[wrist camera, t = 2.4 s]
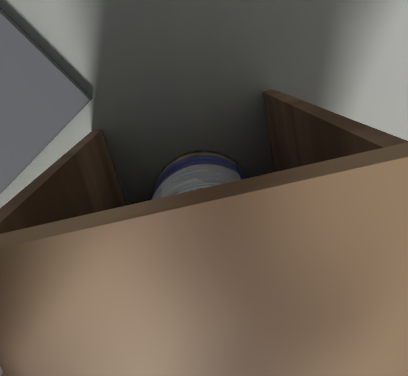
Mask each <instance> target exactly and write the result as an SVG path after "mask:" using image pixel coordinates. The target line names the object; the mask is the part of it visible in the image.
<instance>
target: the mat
mask: <svg viewBox="0 0 408 376" xmlns="http://www.w3.org/2000/svg"><path fill="white" fill-rule="evenodd" d="M91 99H92V98H91V97H90V96H89V95H88V94H87V93H86V92H85V91H84V90H83V89H82V88H81V87H80V86H79V85H78V84H77V83H76V82H75V81H74V80H73V79H72V78H71V77H70V76H69V75H68V74H67V73H66V72H65V71H64V70H63V69H62V68H61V67H60V66H59V65H58V64H57V63H56V62H55V61H54V60H52V59H51V58H50V57H49V56H48V55H47V54H46V53H45V52H44V51H43V50H42V49H41V48H40V47H39V46H38V45H37V44H36V43H35V42H34V41H33V40H32V39H31V38H30V37H29V36H28V35H27V34H26V33H25V32H24V31H23V30H22V29H21V28H20V27H19V26H18V25H17V24H16V23H15V22H14V21H13V20H12V19H11V18H10V17H8V16H7V15H6V14H5V13H4V12H3V11H2V10H1V9H0V194H1V193H2V192H3V191H4V190H5V189H6V188H7V186H8V185H9V184H10V183H11V182H12V181H13V180H14V179H15V178H16V177H17V176H18V175H19V174H20V173H21V172H22V171H23V170H24V169H25V168H26V167H27V166H28V165H29V164H30V163H31V162H32V161H33V160H34V158H35V157H36V156H37V155H38V154H39V153H40V152H41V151H42V150H43V149H44V148H45V147H46V146H47V145H48V144H49V143H50V142H51V141H52V140H53V139H54V138H55V137H56V136H57V135H58V134H59V133H60V131H61V130H62V129H63V128H64V127H65V126H66V125H67V124H68V123H69V122H70V121H71V120H72V119H73V118H74V117H75V116H76V115H77V114H78V113H79V112H80V111H81V110H82V109H83V108H84V107H85V106H86V105H87V103H88V102H89V101H90V100H91Z"/></svg>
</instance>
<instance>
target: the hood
mask: <svg viewBox="0 0 408 376" xmlns="http://www.w3.org/2000/svg"><path fill="white" fill-rule="evenodd" d="M263 95H264V102H265V108H266V115H267V122H268V129H269V135H270V142H271V149H272V156H273V163H274V169H275V172H273V173H269V174H264V175H260V176H256V177H251V178H247V179H242V180H238V181H233V182H229V183H224V184H220V185H216V186H211V187H207V188H202V189H198V190H193V191H189V192H184V193H180V194H176V195H171V196H167V197H162V198H158V199H153V200H149V201H144V202H140V203H136V204H131V205H127V204H126V201H125V198H124V195H123V192H122V189H121V186H120V183H119V180H118V177H117V174H116V171H115V168H114V165H113V162H112V159H111V156H110V153H109V150H108V147H107V144H106V141H105V138H104V135H103V132H102V129H101V130H96V131H92V132H90V133H89V134H88V135H87V136H86V137H84V138H83V139H82V140H81V141H80V142H79V143H77V144H76V145H75V146H74V147H73V148H71V149H70V150H69V151H68V152H67V153H66V154H64V155H63V156H62V157H61V158H60V159H58V160H57V161H56V162H55V163H54V164H53V165H51V166H50V167H49V168H48V169H47V170H45V171H44V172H43V173H42V174H41V175H40V176H38V177H37V178H36V179H35V180H34V181H32V182H31V183H30V184H29V185H28V186H27V187H25V188H24V189H23V190H22V191H21V192H19V193H18V194H17V195H16V196H15V197H14V198H12V199H11V200H10V201H9V202H8V203H6V204H5V205H4V206H3V207H2V208H1V209H0V367H1V369H2V370H3V372H4V374H5V375H6V376H408V141H406V140H404V139H401V138H398V137H396V136H393V135H390V134H388V133H385V132H383V131H380V130H377V129H375V128H372V127H370V126H367V125H364V124H362V123H359V122H357V121H354V120H351V119H349V118H346V117H344V116H341V115H338V114H336V113H333V112H330V111H328V110H325V109H323V108H320V107H317V106H315V105H312V104H310V103H307V102H304V101H302V100H299V99H297V98H294V97H291V96H289V95H286V94H284V93H281V92H278V91H276V90H270V91H265V92H263Z"/></svg>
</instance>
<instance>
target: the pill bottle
mask: <svg viewBox="0 0 408 376" xmlns="http://www.w3.org/2000/svg"><path fill="white" fill-rule="evenodd" d="M247 178H248V177H247V176H246V174H245V172H244V171H243V170H242V169H241V168H240V166H239V165H238V164H237V163H236V162H235V161H234V160H232V159H231V158H229V157H228V156H225V155H223V154H221V153H218V152H212V151H193V152H189V153H185V154H183V155H181V156H179V157H177V158H175V159H174V160H173V161H171V162H170V163H169V164H167V165H166V166H165V167H164V168H163V170H162V172H161V173H160V175H159V177H158V178H157V181H156V184H155V187H154V190H153V195H152V198H151V200H153V199H158V198H162V197H167V196H171V195H176V194H180V193H184V192H189V191H193V190H198V189H202V188H207V187H211V186H216V185H220V184H224V183H229V182H233V181H238V180H242V179H247Z"/></svg>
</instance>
